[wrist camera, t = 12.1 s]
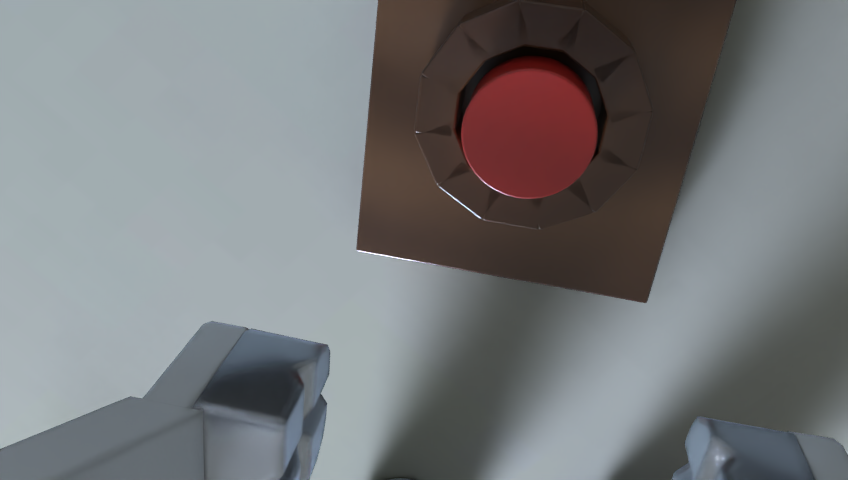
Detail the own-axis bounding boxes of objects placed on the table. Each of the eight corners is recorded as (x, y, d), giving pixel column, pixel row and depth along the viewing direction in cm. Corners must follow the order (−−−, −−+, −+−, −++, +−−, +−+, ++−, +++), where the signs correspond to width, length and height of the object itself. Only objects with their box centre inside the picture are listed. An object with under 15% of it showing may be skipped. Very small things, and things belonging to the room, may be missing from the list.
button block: (404, -134, 22) (375, -139, 18) (743, -89, 21) (782, -85, 17) (369, 226, 27) (342, 276, 24) (639, 273, 26) (653, 333, 23)
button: (477, 45, 20) (471, 58, 19) (607, 65, 20) (612, 80, 18) (459, 166, 22) (452, 187, 20) (579, 187, 22) (581, 209, 20)
